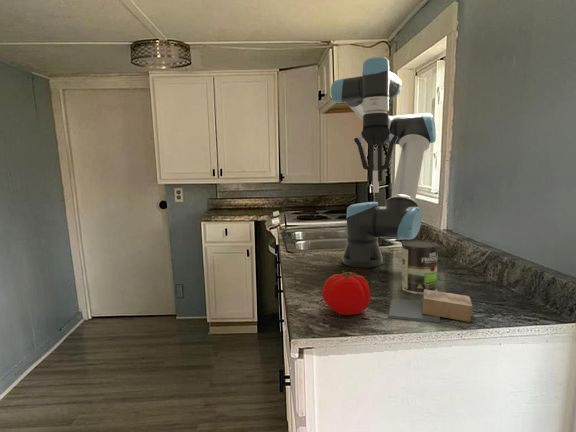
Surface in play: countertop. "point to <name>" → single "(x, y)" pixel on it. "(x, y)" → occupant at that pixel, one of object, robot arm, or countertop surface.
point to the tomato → (346, 293)
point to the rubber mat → (410, 311)
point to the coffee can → (419, 266)
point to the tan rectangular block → (447, 305)
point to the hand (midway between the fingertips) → (375, 192)
